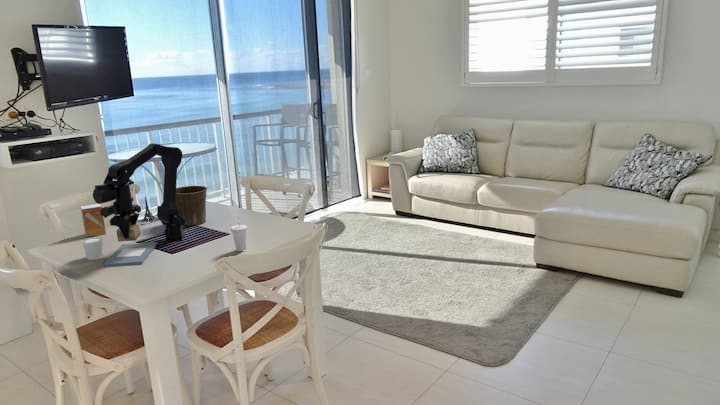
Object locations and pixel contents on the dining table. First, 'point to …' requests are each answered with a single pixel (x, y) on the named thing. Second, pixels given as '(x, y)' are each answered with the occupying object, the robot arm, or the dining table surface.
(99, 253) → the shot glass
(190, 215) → the plant pot
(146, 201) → the eiffel tower figurine
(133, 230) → the walnut block
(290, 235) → the dining table surface
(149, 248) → the board
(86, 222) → the small box
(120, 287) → the dining table surface
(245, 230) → the smoothie
